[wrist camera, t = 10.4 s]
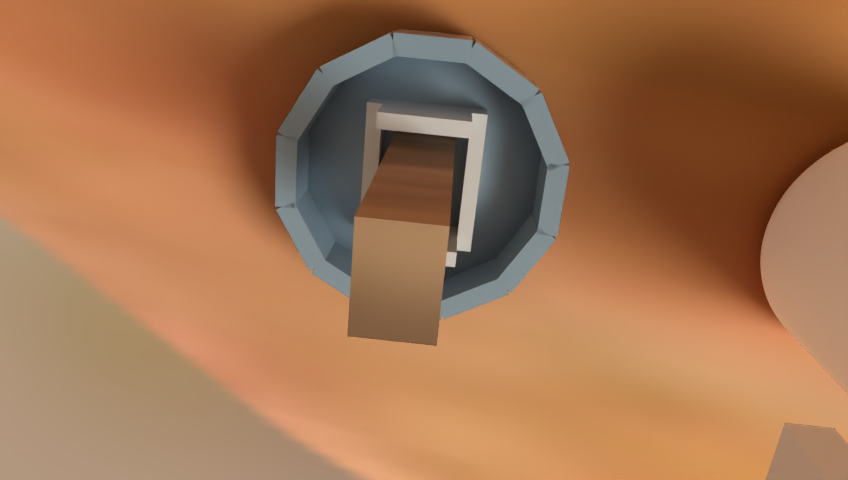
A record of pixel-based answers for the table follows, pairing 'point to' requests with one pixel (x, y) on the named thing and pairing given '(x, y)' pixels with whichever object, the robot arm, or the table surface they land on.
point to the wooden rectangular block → (403, 242)
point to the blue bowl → (437, 115)
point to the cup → (812, 262)
